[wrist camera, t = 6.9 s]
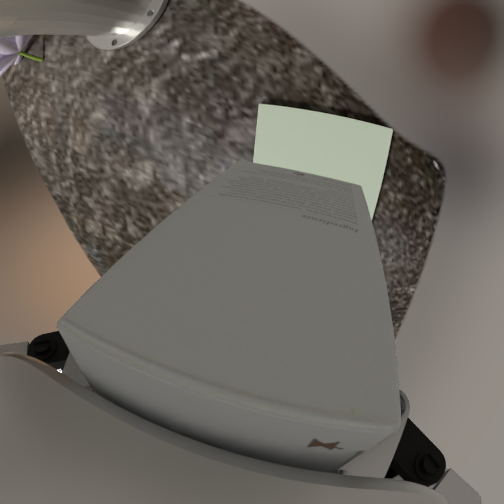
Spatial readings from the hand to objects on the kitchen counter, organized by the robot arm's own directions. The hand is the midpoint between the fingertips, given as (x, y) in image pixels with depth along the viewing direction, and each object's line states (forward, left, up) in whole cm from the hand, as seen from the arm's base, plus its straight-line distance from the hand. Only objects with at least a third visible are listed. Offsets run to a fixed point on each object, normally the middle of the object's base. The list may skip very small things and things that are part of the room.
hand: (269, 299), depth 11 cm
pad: (0, 0, -18) cm, 18 cm away
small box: (0, 0, -4) cm, 4 cm away
